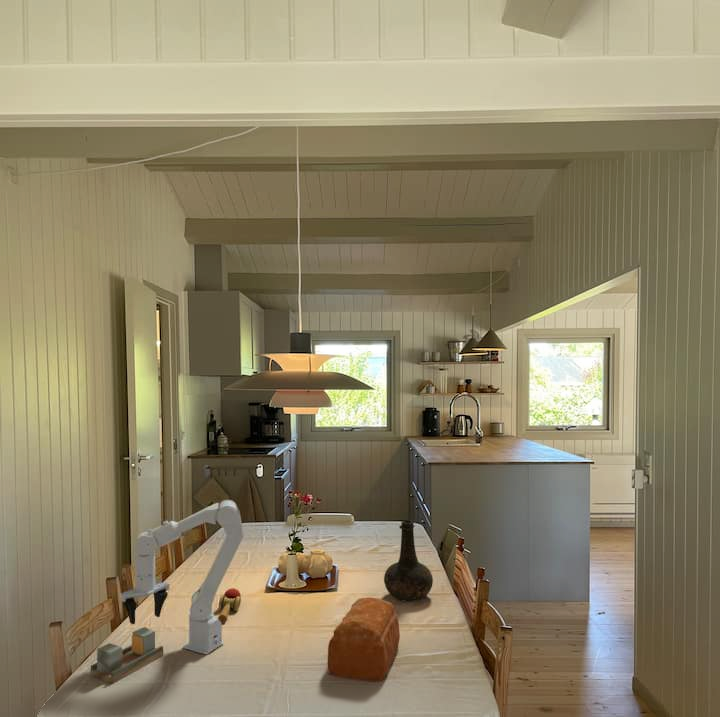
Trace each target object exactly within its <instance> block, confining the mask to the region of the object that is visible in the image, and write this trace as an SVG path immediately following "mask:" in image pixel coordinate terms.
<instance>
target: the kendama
mask: <svg viewBox="0 0 720 717" xmlns="http://www.w3.org/2000/svg"><path fill="white" fill-rule="evenodd" d="M241 596H242V595H241V592H240V591H239V589H236V588H235V587H234V588H233V587H232V588H229V589H227V590H226V591H225V592H224V594H221V595H220V598H219V601H218V608H219V609H222V610H221V611H220V613H219V615H218V617H217V620H219V621H220V622H221V624H224V623H226V622H227V621H228V617H229V614H230V611H231V610H230V609H231V608H232V609H233V610H234V612H238V611H239V610H240V606H241V601H242V597H241Z"/></svg>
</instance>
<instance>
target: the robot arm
mask: <svg viewBox="0 0 720 717" xmlns="http://www.w3.org/2000/svg"><path fill="white" fill-rule="evenodd" d="M205 523H208V524H212V525H217V523H218V524H219V525H220V526H221V527H222V528H223V530H224V532H225V534H226V536H225V538H224V540H223V542H222V543H221V546H220V548H219V550H218V552H217V555H216V556H215V558H214V560H213V563H212V564H211V567H210V568H209V570H208V571H207V575H206V577H205V579H204V580H203V582H202V583H201V584H200V586H199V588H198V589H197V590H196V591H194V592H193V595H192V596H191V604H190V605H191V606H190V609H189V613H190V614H188V615H189V616H188V642H187V643H186V644H184V645H182V648H183V649H186V650H189V651H192V652H196V653H199V654H202V653H203V655H208V654H210V653H212V652H213V651H214V649H215V650H217V649H218V648H220V647H222V646H223V645H224V642H223V639H222V637H223V636H222V634H223V633H222V631H223V627H222V626H223V625H222V624H223V623H221V622H220V621H219V620H218V618H216V616H215V615H214V611H213V608H212V607H213V603H214V601H215V598H216V594H217V591H218V589H219V587H220V585H221V583H222V582H223V579H224V577H225V575H226V573H227V570H228V569H229V567H230V565H231V563H232V561H233V559H234V557H235V555H236V553H237V550H238V548H239V546H240V545H241V542H242V540H243V538H244V532H243V530H244V529H243V525H242V518H241V512H240V509H239V507H238V505H237V504H236V502H235V501H233V500H231V499H224V500H221V501H220V502H216V503H212V504H211V505H209V506H207V507H204V508H203V509H201V510H199V511H197V512H195V513H193V514H191V515H189V516H188V517H186V518H184V519H181V520H179V521H178V522H177V521H174V520H170V521H168V520H165V521H163V522H162V525H159V526H157V527H155V528H153V529H152V528H149V529H148V530H147V531H142V532H141V533H140V534H138V536H137V538H136V539H135V541H134V545H133V550H134V551H135V559H134V588H132V589H129V590H128V591H124V592H121V593H119V601H120V602H121V603H123V605H124V607H125V609H126V612H127V615H128V619H129V623H130V624H131V625H135V624H136V609H137V602H136V601H135V599H137V598H141V597H144V596H152V595H153V599H154V600H153V602H154V617H156V618H160V616H161V613H162V608H163V607H164V603H165V601H166V599H167V597H168V591H170V583H169V582H167V581H166V582H159V583H156V555H155V550H156V549H158V548H162V547H164V546H166V545H169V543H172V542H174V541H176V540H178V539H179V538H180V536H181V534H182V533H184V532H187V531H188V530H190V529H193V528H196V527H197V526H200V525H202V524H205ZM222 644H223V645H222ZM219 646H220V647H219ZM217 647H218V648H217Z"/></svg>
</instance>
